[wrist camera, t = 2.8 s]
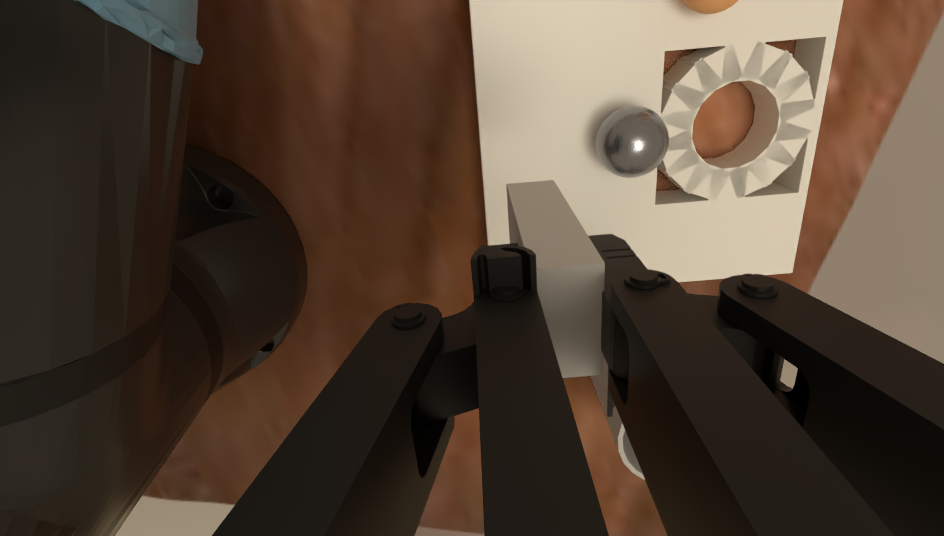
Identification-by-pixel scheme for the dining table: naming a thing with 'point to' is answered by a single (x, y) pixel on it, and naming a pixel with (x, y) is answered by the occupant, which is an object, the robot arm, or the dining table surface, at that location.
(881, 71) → the dining table surface
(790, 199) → the board
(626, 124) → the ball
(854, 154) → the dining table surface
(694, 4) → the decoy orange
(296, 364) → the dining table surface
